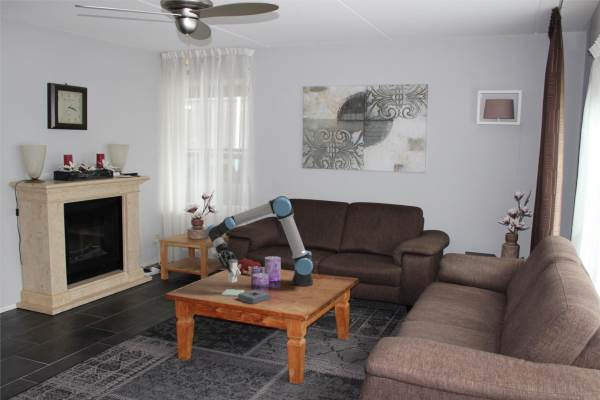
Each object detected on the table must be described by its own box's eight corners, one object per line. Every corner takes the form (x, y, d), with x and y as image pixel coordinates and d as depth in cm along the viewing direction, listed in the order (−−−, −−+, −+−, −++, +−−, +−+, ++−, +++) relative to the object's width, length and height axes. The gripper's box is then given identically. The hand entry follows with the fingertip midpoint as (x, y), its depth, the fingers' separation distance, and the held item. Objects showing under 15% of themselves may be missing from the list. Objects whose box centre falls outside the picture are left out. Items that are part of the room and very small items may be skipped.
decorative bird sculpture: (255, 283, 384) (266, 266, 389) (247, 276, 379) (259, 259, 384) (234, 275, 405) (245, 260, 411) (226, 268, 400) (238, 253, 406)
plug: (233, 280, 343) (233, 259, 342) (237, 281, 340) (238, 260, 339) (227, 281, 340) (227, 260, 339) (232, 282, 337) (232, 261, 336)
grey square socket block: (254, 295, 339) (254, 289, 339) (269, 299, 330) (270, 294, 329) (238, 299, 329) (238, 293, 328) (253, 304, 319) (253, 298, 319)
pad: (244, 291, 346) (244, 290, 346) (239, 296, 334) (239, 295, 334) (226, 290, 348) (226, 289, 348) (221, 295, 336) (221, 294, 336)
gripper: (227, 247, 355) (243, 276, 346) (207, 251, 342) (223, 280, 333) (233, 241, 351) (249, 269, 341) (212, 244, 338) (229, 274, 329)
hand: (236, 275), depth 337 cm, fingers closed on plug, 4 cm apart
